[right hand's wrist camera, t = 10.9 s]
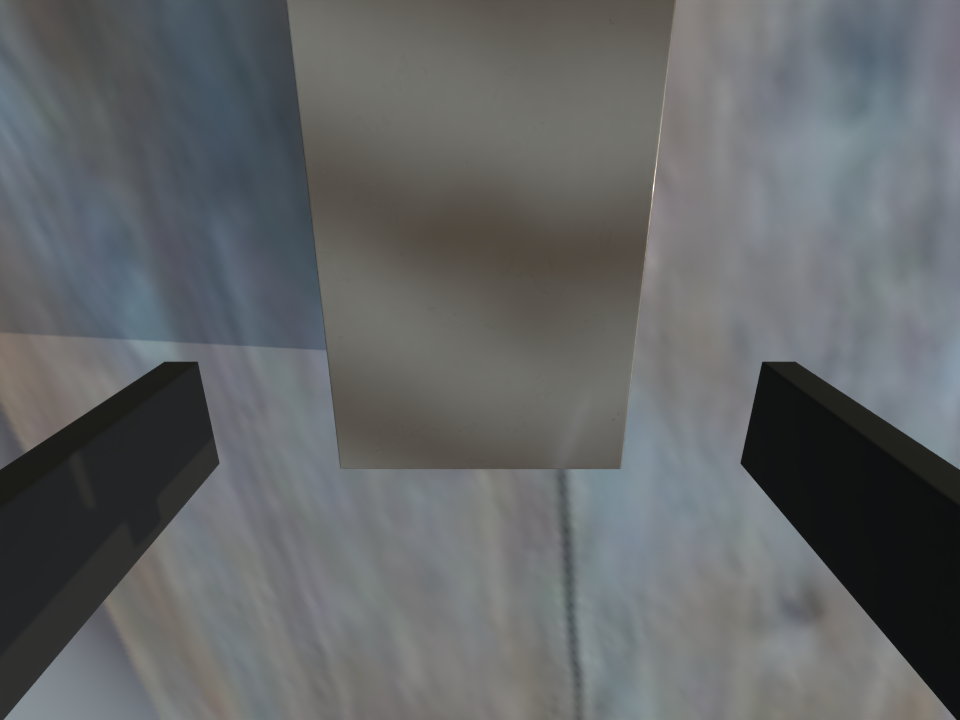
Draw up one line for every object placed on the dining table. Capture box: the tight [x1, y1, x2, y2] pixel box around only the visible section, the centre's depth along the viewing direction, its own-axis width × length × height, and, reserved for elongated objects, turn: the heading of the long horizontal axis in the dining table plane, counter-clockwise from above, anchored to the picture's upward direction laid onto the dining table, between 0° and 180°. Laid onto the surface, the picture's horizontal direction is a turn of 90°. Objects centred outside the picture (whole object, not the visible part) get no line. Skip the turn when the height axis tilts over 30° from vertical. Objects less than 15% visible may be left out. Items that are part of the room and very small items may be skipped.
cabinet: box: [286, 0, 676, 469], centre depth 21 cm, size 18×10×11 cm, turn 0°
